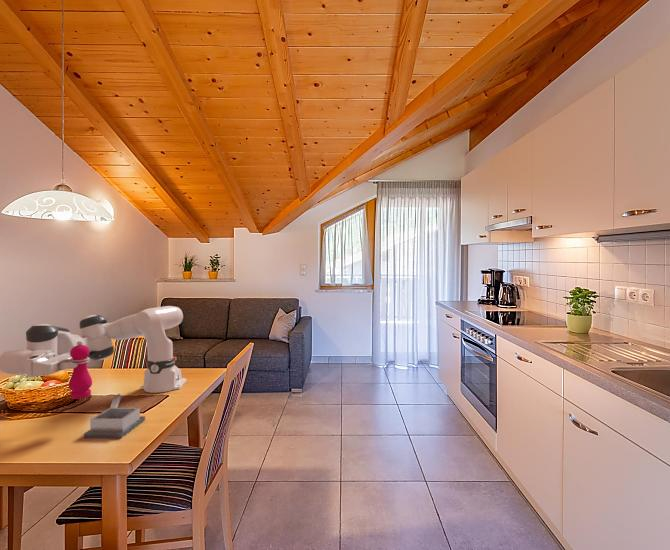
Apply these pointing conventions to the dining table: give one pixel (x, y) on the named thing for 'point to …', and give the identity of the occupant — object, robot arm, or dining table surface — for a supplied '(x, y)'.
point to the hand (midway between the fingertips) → (82, 362)
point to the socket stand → (114, 423)
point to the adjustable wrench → (115, 401)
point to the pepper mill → (80, 372)
